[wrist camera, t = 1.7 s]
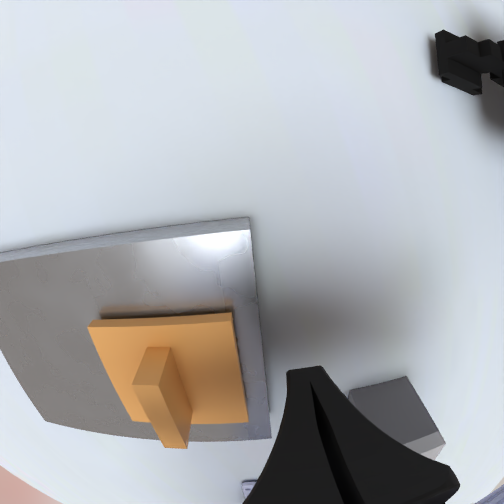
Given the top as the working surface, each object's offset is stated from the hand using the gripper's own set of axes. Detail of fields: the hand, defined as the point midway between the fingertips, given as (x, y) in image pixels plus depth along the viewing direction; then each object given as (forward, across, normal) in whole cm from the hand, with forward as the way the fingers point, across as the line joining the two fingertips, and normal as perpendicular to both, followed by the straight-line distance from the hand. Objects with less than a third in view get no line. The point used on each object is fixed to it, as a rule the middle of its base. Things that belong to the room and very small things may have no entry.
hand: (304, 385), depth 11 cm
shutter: (+1, +5, 0) cm, 6 cm away
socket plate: (+4, +10, 0) cm, 10 cm away
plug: (+4, -6, +7) cm, 10 cm away
